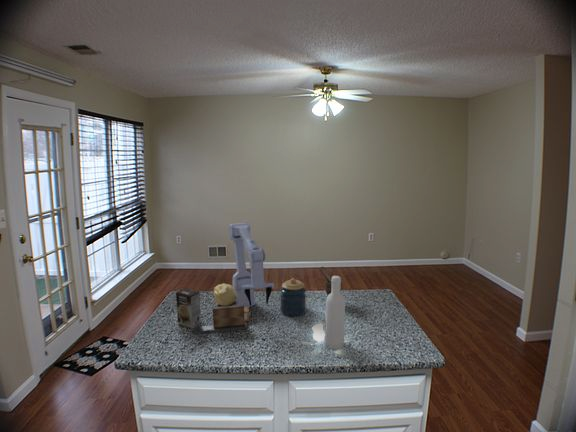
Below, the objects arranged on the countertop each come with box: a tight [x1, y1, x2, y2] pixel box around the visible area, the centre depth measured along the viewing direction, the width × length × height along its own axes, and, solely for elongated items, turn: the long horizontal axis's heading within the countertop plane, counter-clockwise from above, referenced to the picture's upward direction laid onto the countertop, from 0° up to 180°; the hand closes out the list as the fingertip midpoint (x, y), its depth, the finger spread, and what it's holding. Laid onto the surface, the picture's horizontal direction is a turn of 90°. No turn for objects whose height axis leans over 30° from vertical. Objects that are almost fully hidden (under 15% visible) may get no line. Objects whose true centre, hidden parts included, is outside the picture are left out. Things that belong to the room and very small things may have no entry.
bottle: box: [324, 275, 346, 350], centre depth 139 cm, size 8×8×30 cm
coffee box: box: [175, 287, 202, 329], centre depth 158 cm, size 9×6×16 cm
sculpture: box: [213, 282, 236, 307], centre depth 179 cm, size 11×12×11 cm
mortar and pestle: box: [319, 266, 343, 296], centre depth 178 cm, size 12×9×20 cm
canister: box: [279, 277, 307, 318], centre depth 170 cm, size 13×13×18 cm
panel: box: [212, 305, 246, 327], centre depth 154 cm, size 14×2×9 cm, turn 100°
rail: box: [192, 321, 248, 335], centre depth 154 cm, size 24×4×1 cm, turn 100°
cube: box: [244, 307, 250, 322], centre depth 163 cm, size 5×5×5 cm
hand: (258, 303), depth 155 cm, fingers open, 7 cm apart
